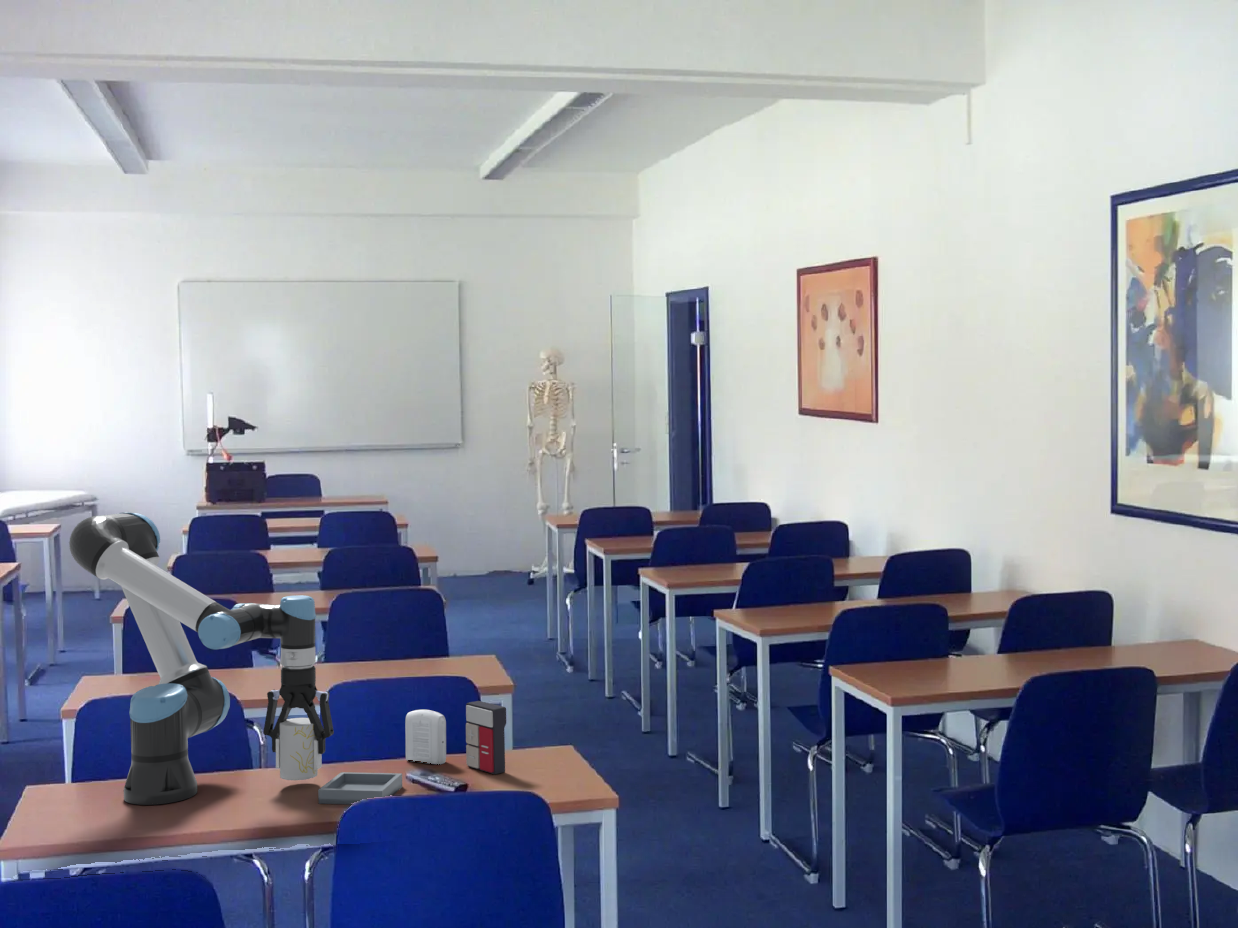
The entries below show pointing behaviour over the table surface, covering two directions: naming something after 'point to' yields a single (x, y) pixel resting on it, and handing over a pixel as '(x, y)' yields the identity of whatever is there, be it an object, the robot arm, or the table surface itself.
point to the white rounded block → (425, 736)
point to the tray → (359, 787)
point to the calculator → (485, 737)
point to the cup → (297, 749)
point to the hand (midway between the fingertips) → (298, 767)
